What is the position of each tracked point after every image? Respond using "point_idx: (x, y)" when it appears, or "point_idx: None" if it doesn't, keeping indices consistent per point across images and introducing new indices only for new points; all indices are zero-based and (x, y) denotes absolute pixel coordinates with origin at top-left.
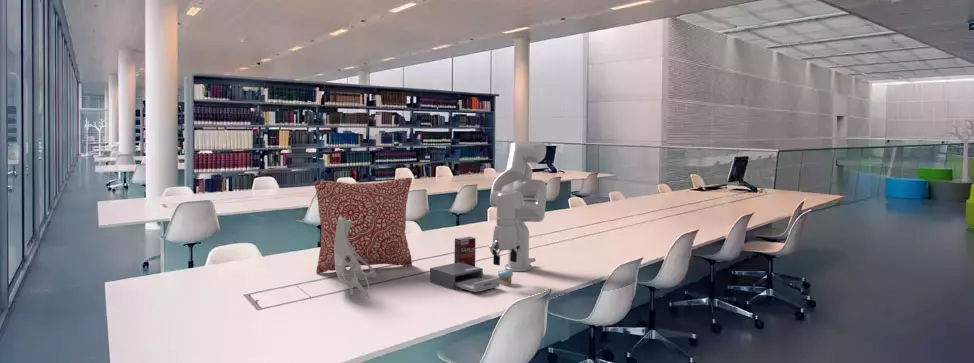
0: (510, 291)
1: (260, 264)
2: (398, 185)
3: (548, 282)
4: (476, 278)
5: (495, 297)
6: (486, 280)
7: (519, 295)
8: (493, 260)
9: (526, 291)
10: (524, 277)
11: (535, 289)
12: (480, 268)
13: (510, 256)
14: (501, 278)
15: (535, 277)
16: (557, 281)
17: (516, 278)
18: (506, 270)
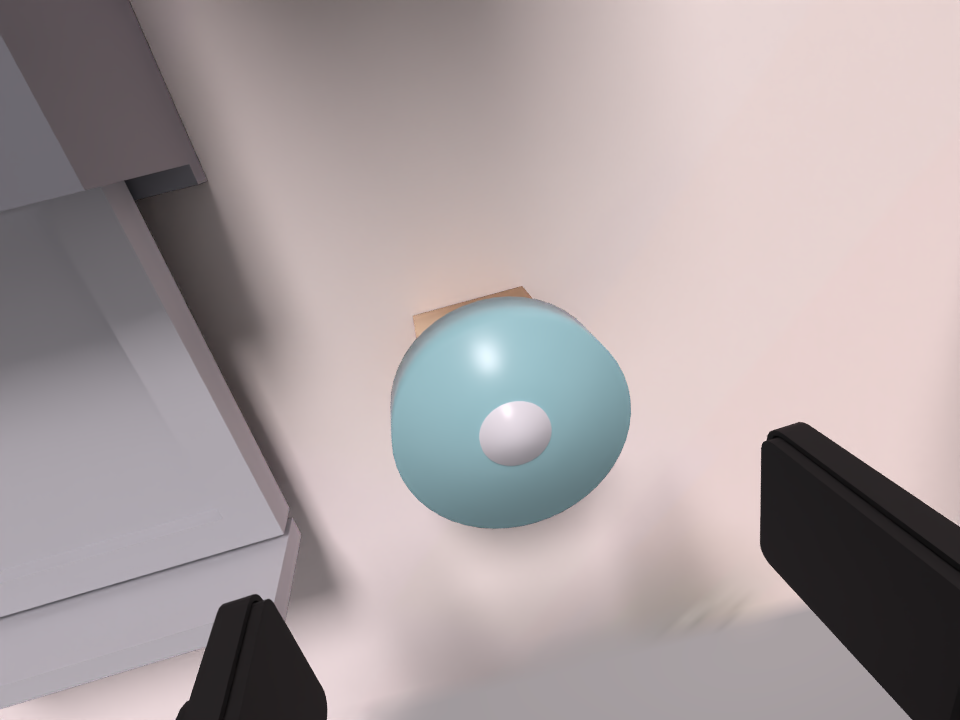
0: (379, 599)
1: None
2: None
3: None
4: None
5: (156, 704)
6: (34, 690)
7: (393, 699)
8: (194, 686)
9: (511, 631)
10: (856, 192)
11: (614, 605)
12: (21, 142)
13: (854, 509)
14: None
15: (939, 256)
16: (942, 469)
17: (750, 186)
18: (579, 370)
